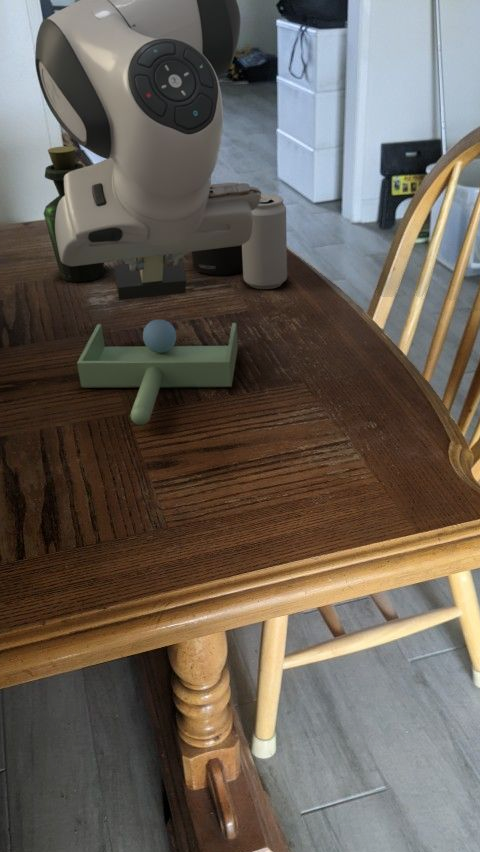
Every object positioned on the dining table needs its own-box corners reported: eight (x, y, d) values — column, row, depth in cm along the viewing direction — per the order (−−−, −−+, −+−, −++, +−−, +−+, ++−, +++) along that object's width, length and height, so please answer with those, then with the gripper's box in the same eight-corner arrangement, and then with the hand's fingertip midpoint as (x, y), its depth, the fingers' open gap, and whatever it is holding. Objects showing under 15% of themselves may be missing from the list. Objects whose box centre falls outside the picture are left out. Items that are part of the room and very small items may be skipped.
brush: (119, 300, 93) (115, 240, 81) (115, 277, 94) (111, 215, 82) (185, 293, 95) (191, 233, 82) (180, 271, 96) (186, 208, 83)
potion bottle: (110, 264, 122) (93, 141, 112) (108, 282, 116) (89, 154, 105) (58, 267, 122) (35, 144, 111) (52, 286, 115) (27, 157, 105)
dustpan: (101, 349, 97) (97, 324, 95) (237, 348, 96) (236, 322, 94) (59, 436, 80) (52, 407, 78) (223, 436, 79) (221, 407, 78)
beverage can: (258, 294, 111) (255, 208, 104) (235, 280, 115) (231, 197, 108) (295, 284, 113) (295, 200, 106) (272, 271, 118) (270, 189, 111)
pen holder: (182, 262, 122) (176, 197, 116) (236, 252, 125) (233, 188, 120) (205, 281, 115) (200, 213, 109) (262, 270, 118) (260, 203, 113)
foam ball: (137, 345, 92) (136, 318, 94) (153, 362, 95) (151, 336, 97) (168, 335, 91) (166, 308, 93) (182, 353, 94) (180, 327, 96)
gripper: (257, 154, 77) (235, 225, 90) (46, 175, 72) (55, 247, 85) (272, 213, 76) (247, 276, 89) (59, 237, 71) (66, 300, 84)
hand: (152, 262), depth 87 cm, fingers closed on brush, 2 cm apart
